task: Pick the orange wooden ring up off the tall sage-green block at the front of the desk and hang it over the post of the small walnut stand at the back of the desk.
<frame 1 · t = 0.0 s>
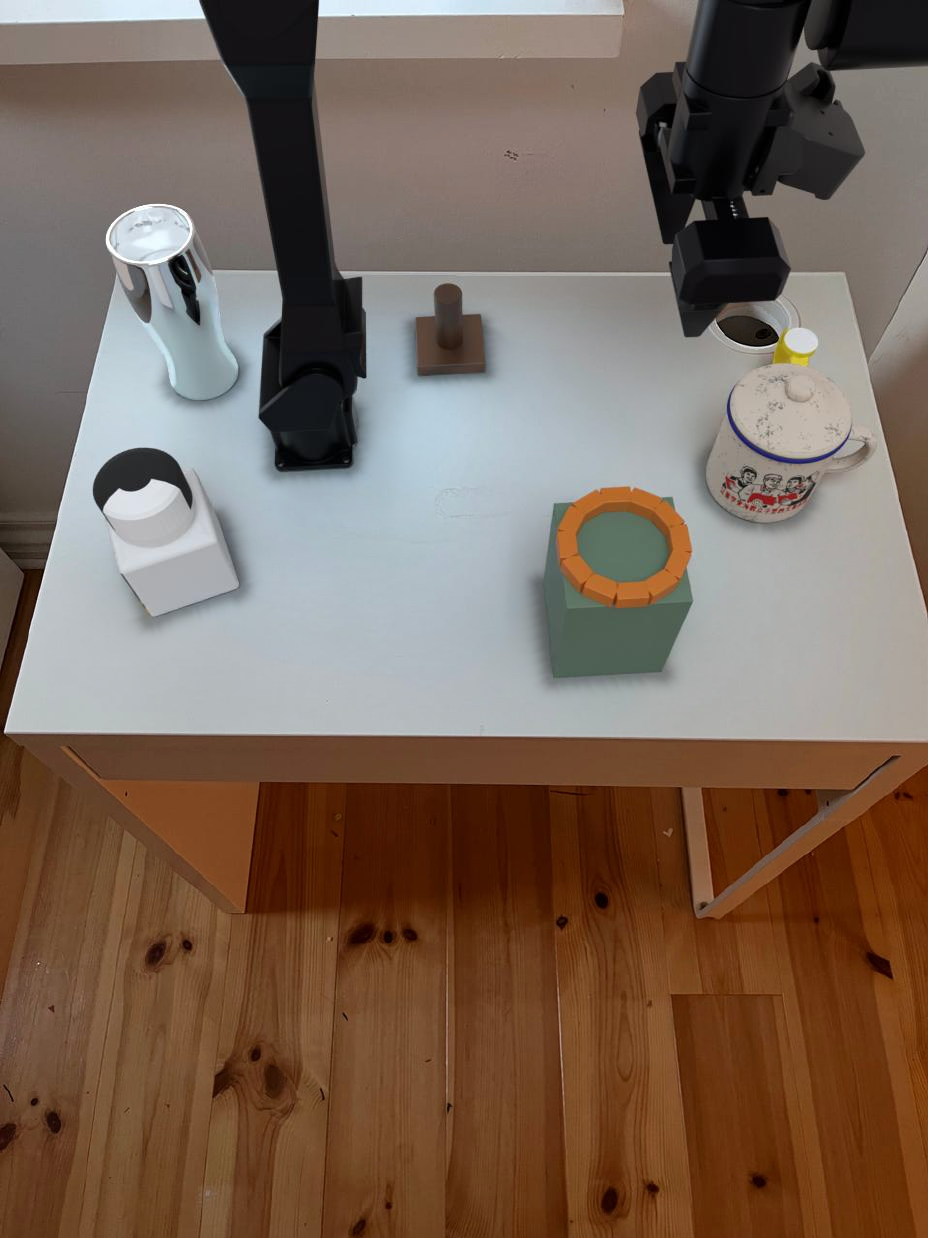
hand: (680, 287, 64), 15 cm above the table, tool pointing down, fingers open, 9 cm apart
teacup with lid: (774, 484, 74), on the table
ring: (621, 550, 58), point 11 cm above the table, touching block
block: (600, 626, 68), on the table
medicine bottle: (186, 568, 71), on the table
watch: (778, 389, 78), on the table
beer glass: (205, 376, 80), on the table
stand: (450, 349, 81), on the table
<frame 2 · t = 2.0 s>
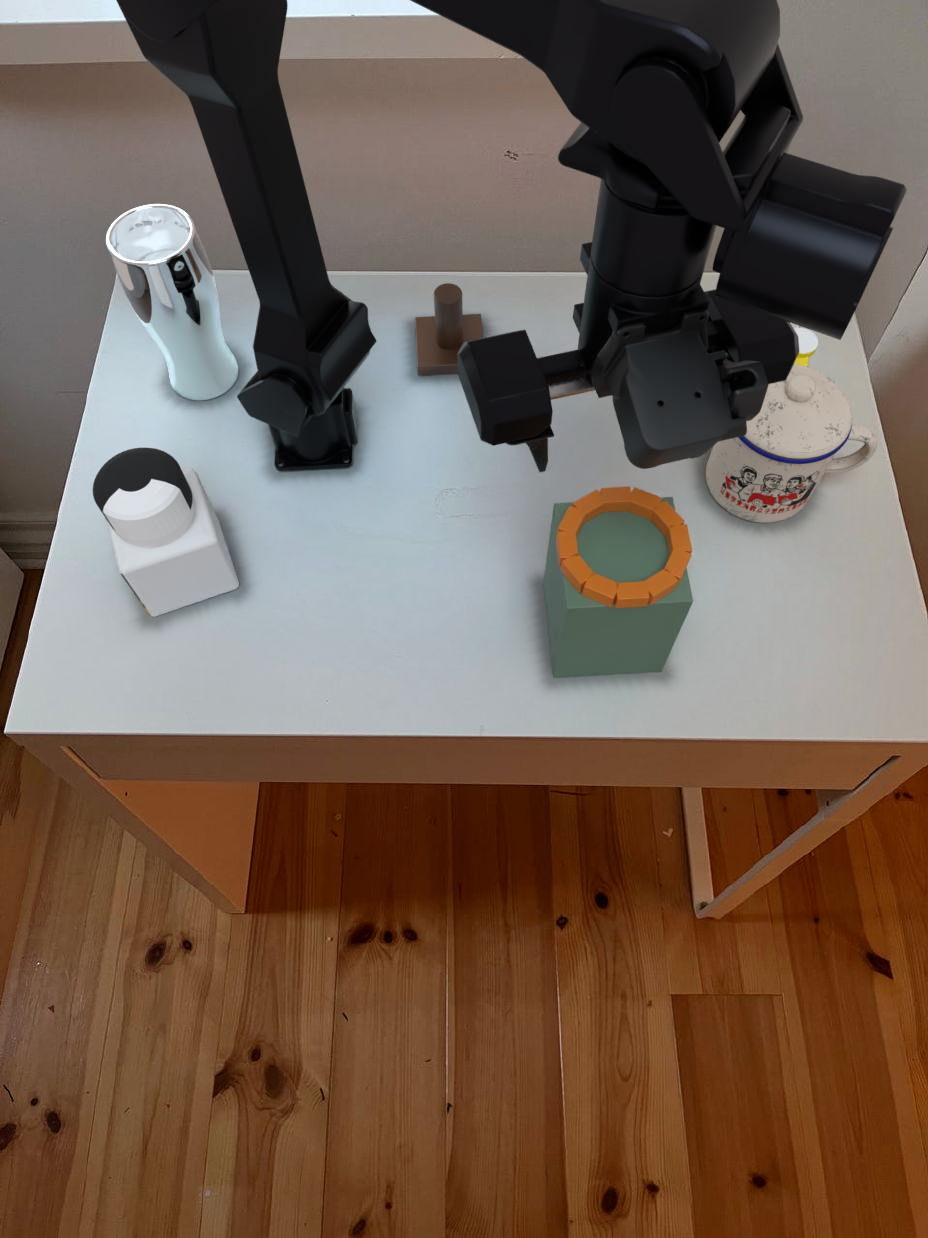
hand: (607, 451, 59), 14 cm above the table, tool pointing down, fingers open, 9 cm apart
nothing on the table moved.
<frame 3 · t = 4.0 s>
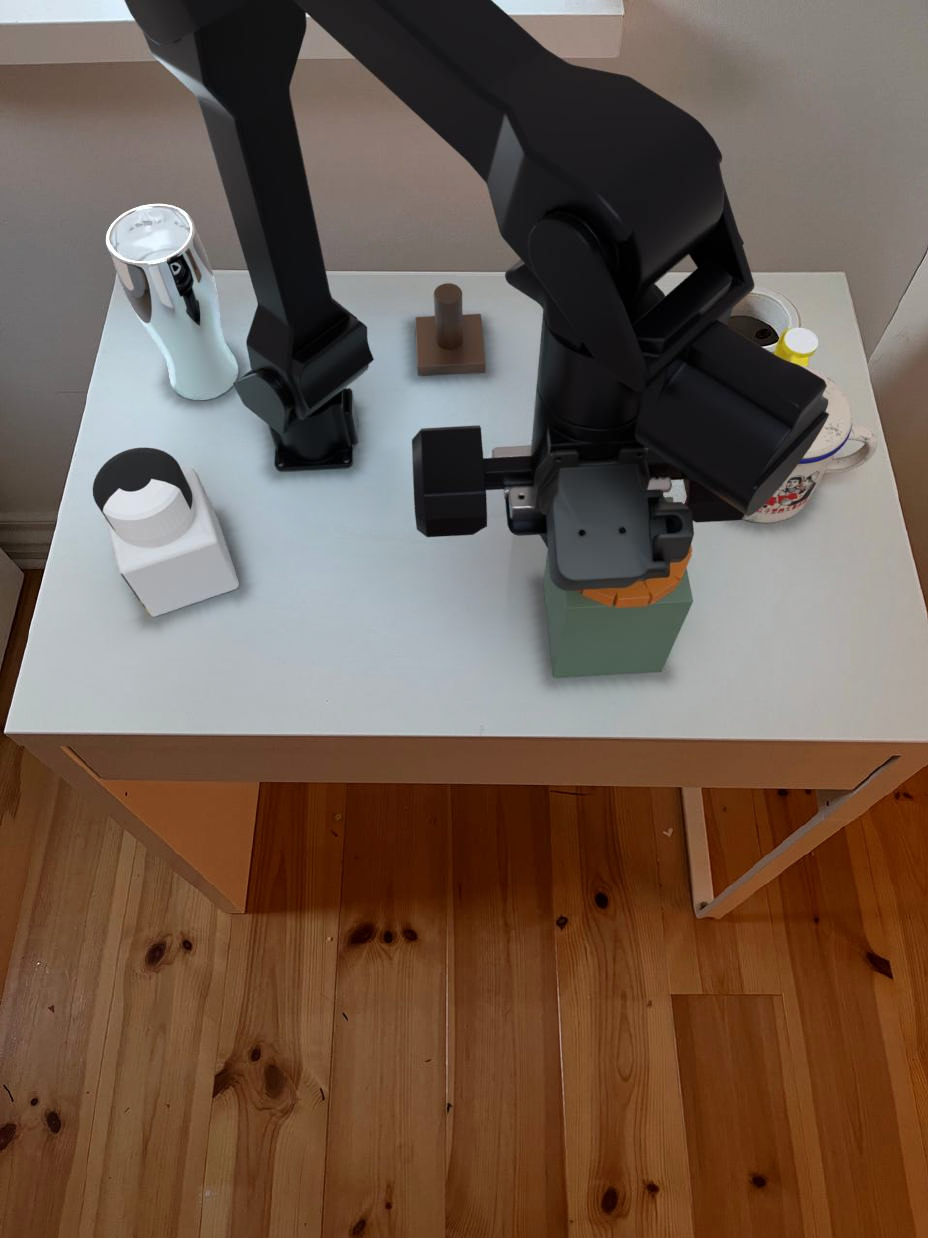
hand: (566, 550, 58), 11 cm above the table, tool pointing down, fingers closed on ring, 1 cm apart
ring: (621, 550, 58), point 11 cm above the table, touching gripper
everything else where it was.
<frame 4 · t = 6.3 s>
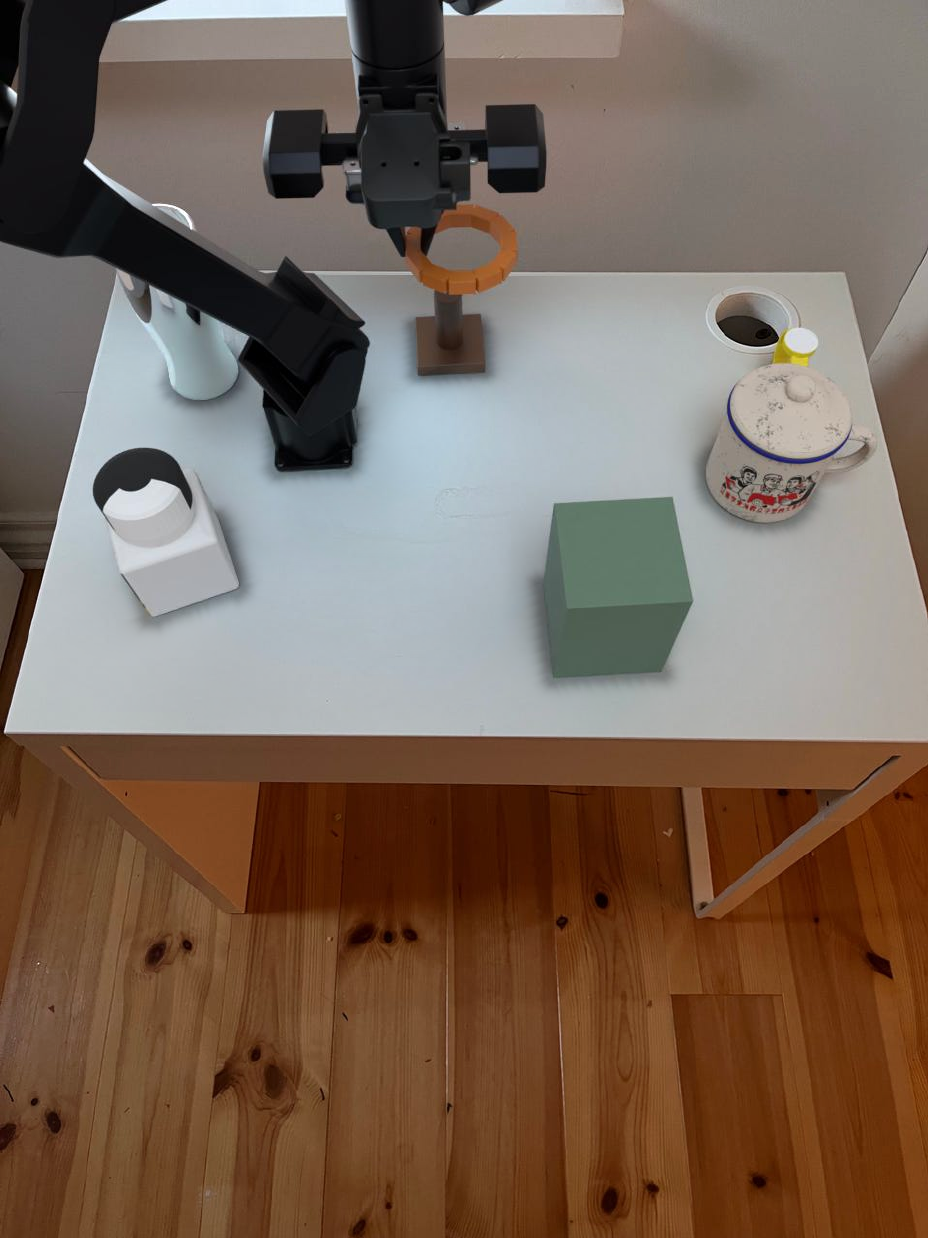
hand: (413, 253, 68), 13 cm above the table, tool pointing down, fingers closed on ring, 1 cm apart
ring: (461, 254, 68), point 13 cm above the table, touching gripper
everything else where it was.
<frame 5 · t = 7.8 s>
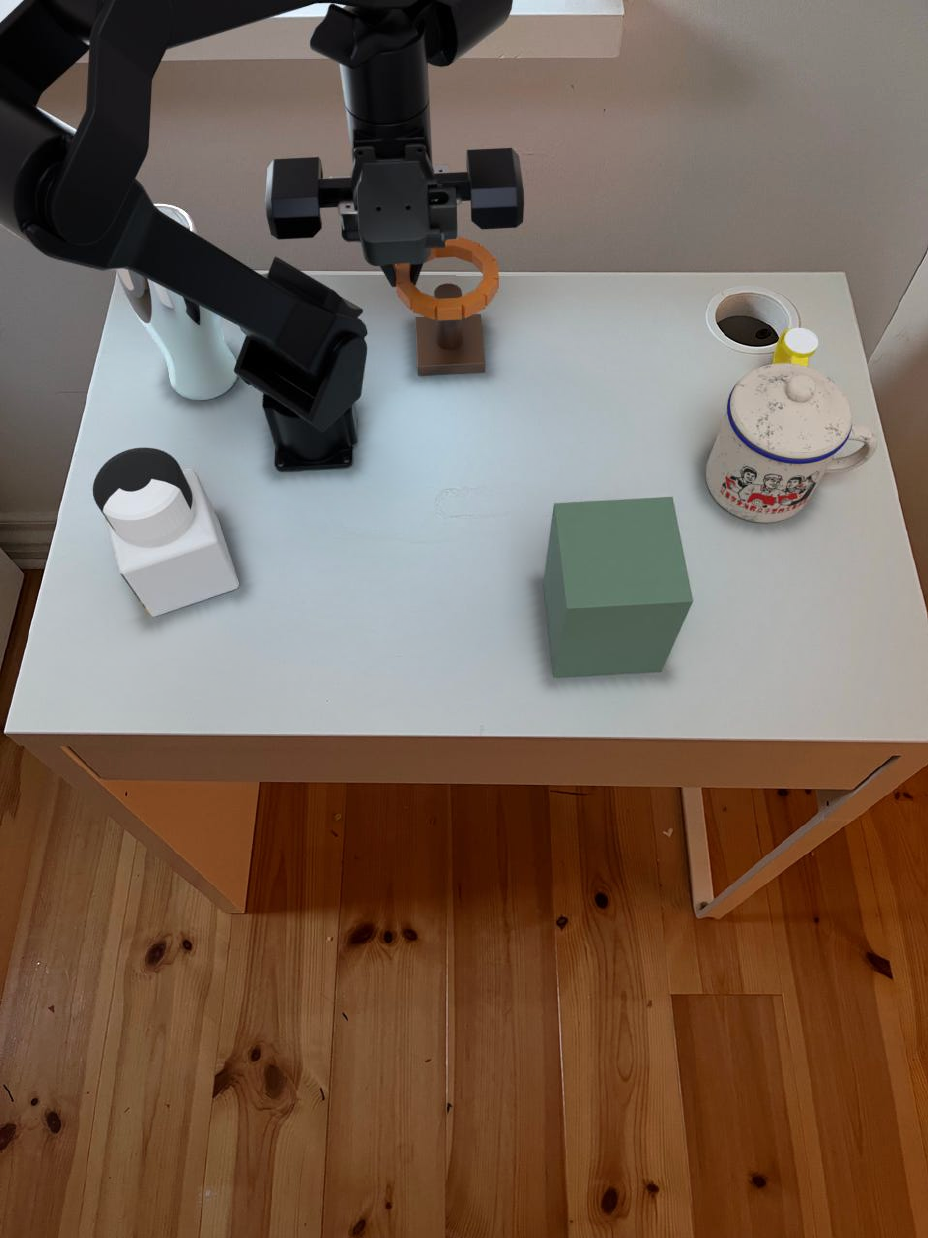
hand: (403, 282, 74), 8 cm above the table, tool pointing down, fingers closed on ring, 1 cm apart
ring: (447, 283, 74), point 8 cm above the table, touching gripper
everything else where it was.
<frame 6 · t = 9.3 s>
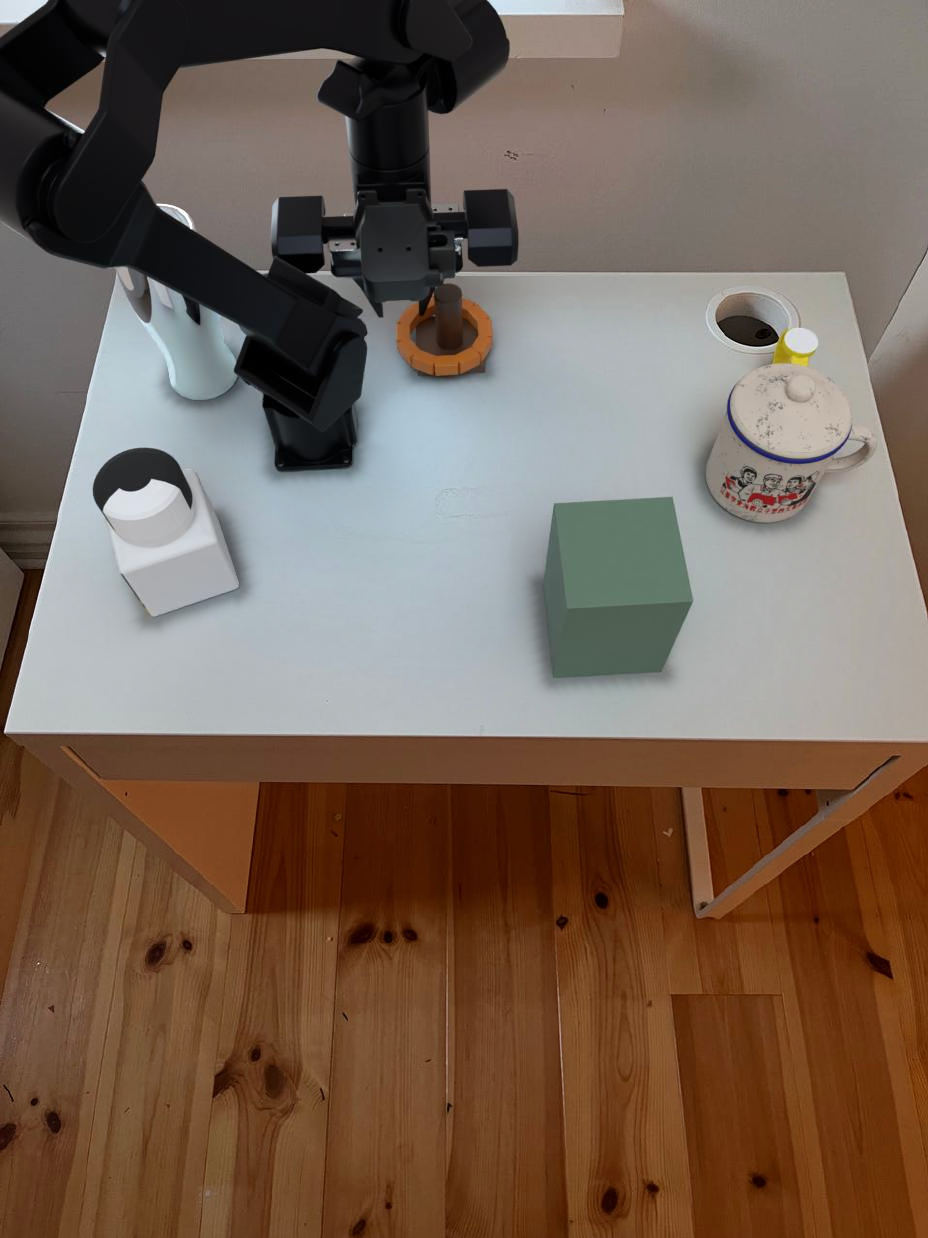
hand: (401, 313, 77), 5 cm above the table, tool pointing down, fingers open, 3 cm apart
ring: (444, 339, 80), point 1 cm above the table, touching stand
everything else where it was.
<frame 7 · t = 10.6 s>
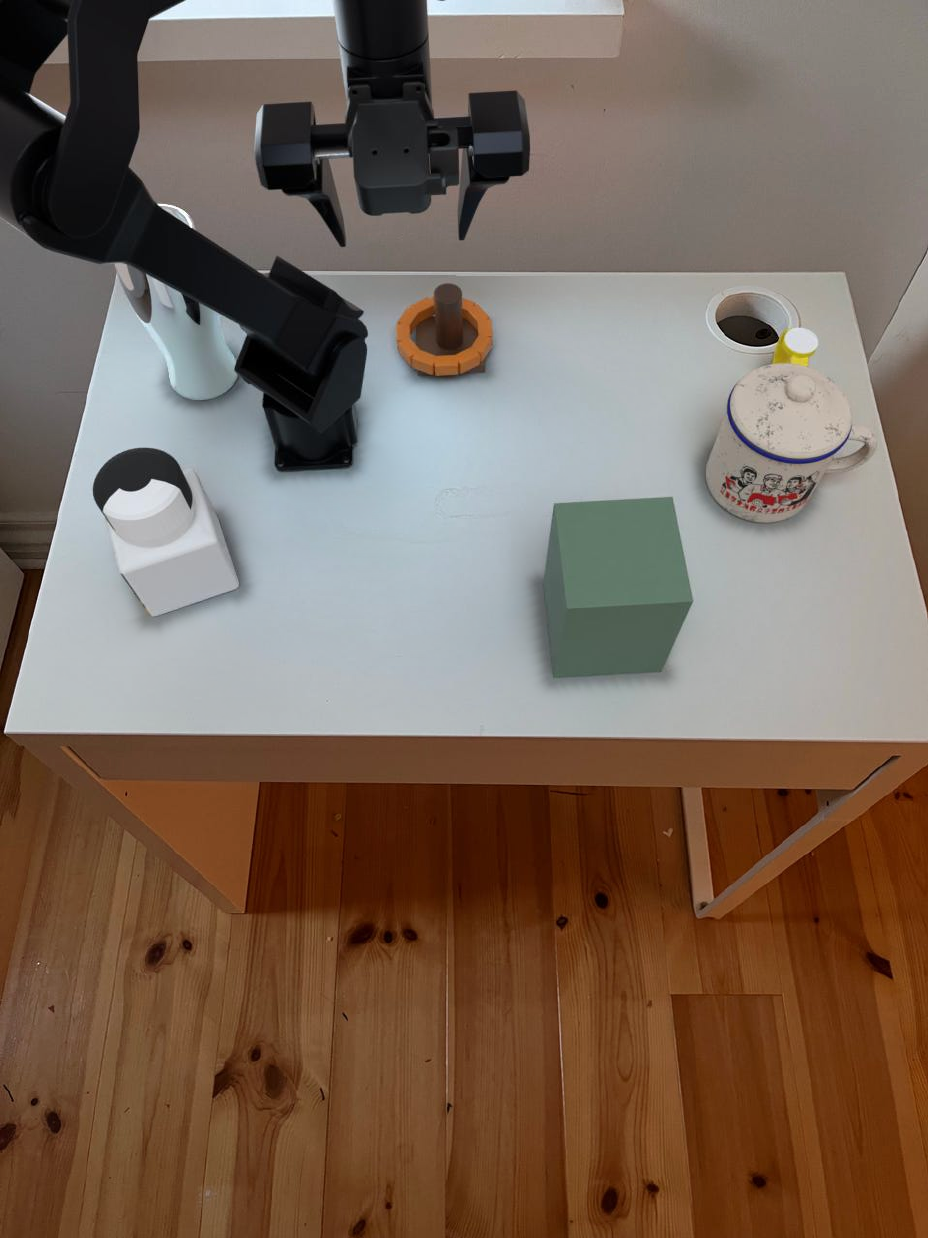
hand: (402, 240, 70), 12 cm above the table, tool pointing down, fingers open, 9 cm apart
nothing on the table moved.
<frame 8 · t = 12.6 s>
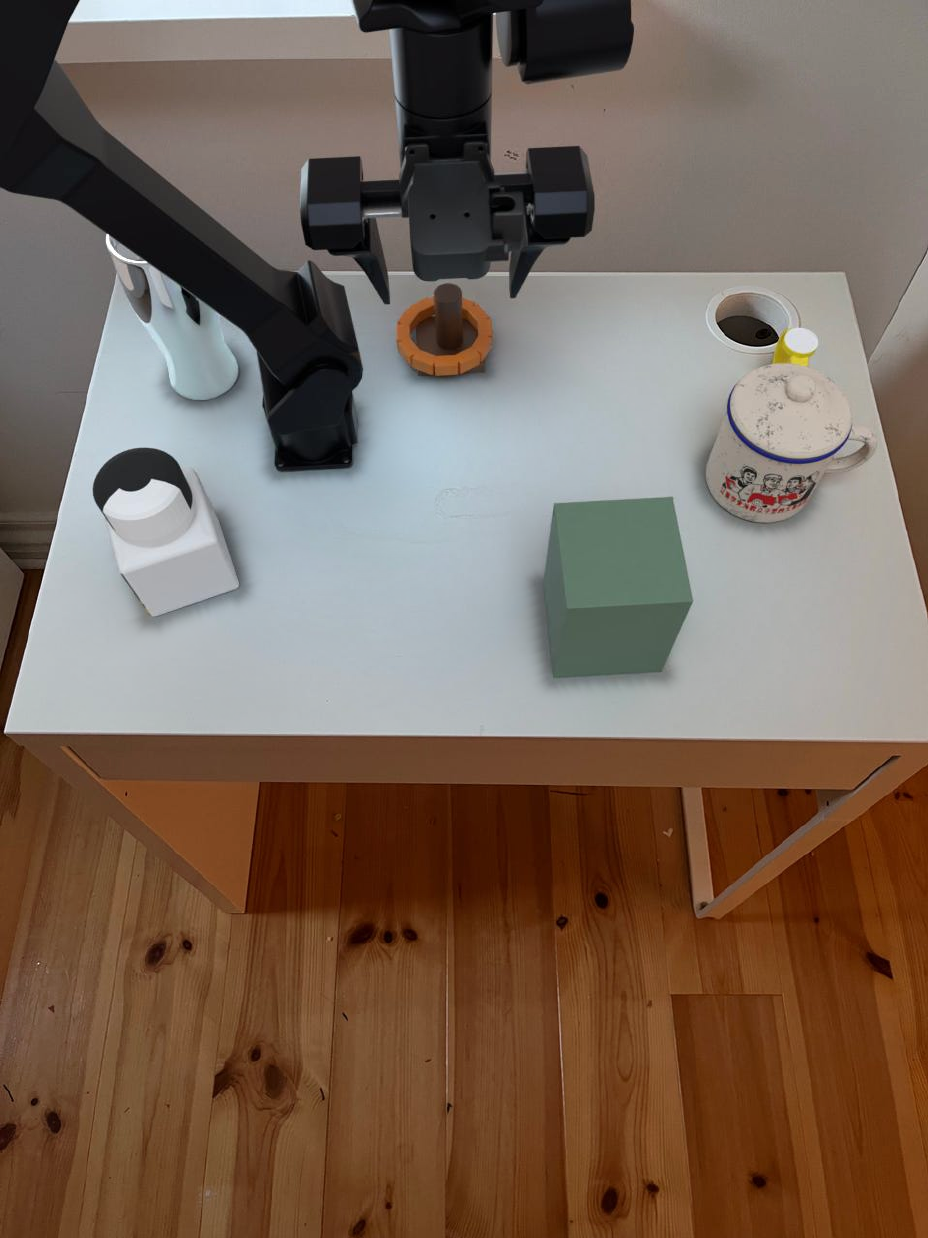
hand: (449, 297, 66), 13 cm above the table, tool pointing down, fingers open, 9 cm apart
nothing on the table moved.
at the end: ring 0.5 cm off-centre on the stand, point 1.2 cm above the stand's base; the gripper is holding nothing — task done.
